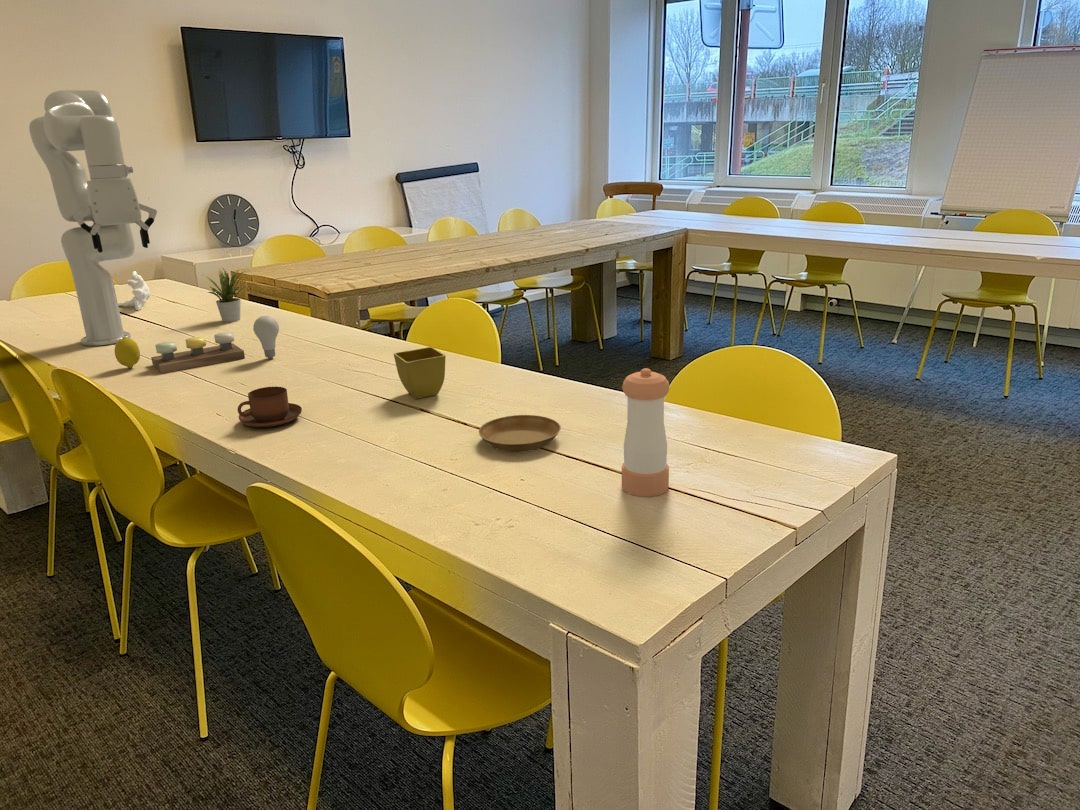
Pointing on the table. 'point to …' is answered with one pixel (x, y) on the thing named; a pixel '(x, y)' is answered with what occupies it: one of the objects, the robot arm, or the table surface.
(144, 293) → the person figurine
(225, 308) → the house plant
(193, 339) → the yellow button
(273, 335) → the lightbulb
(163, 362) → the button board
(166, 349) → the sage button
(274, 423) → the cup and saucer
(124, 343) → the lemon
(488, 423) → the plant saucer
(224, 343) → the grey button
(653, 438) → the pepper shaker
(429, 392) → the flower pot
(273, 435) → the table surface
